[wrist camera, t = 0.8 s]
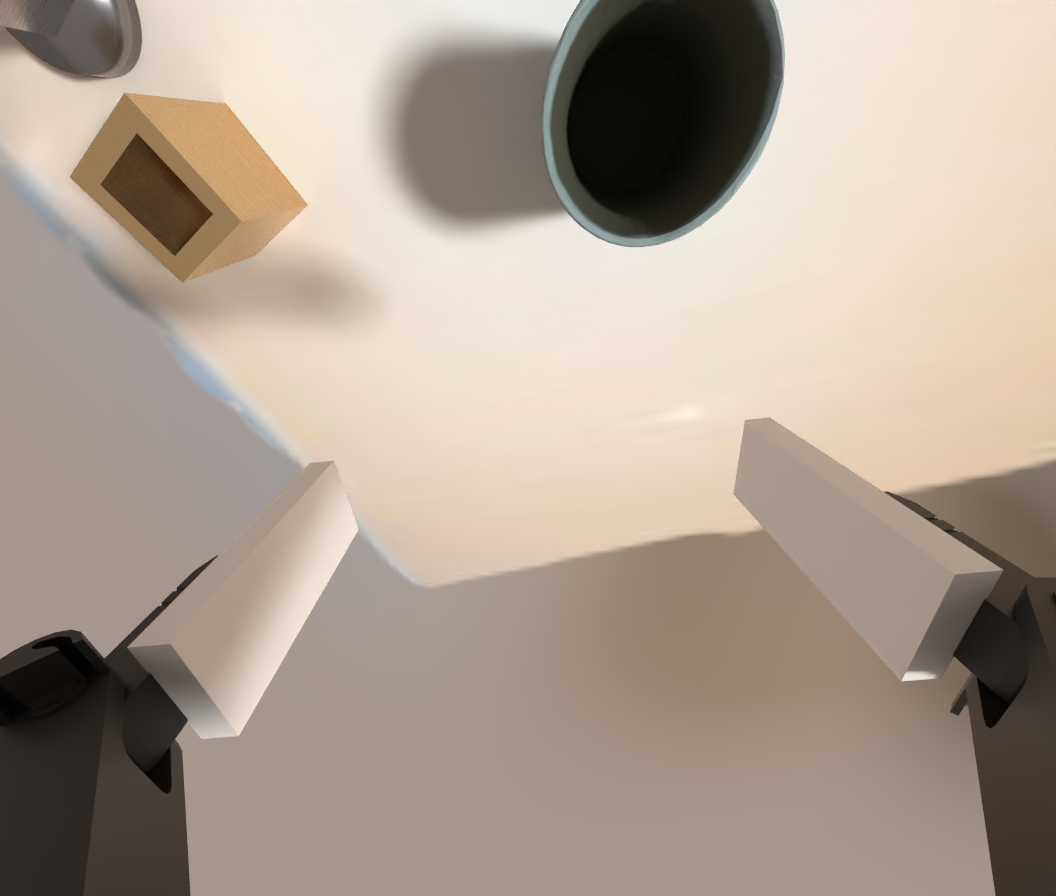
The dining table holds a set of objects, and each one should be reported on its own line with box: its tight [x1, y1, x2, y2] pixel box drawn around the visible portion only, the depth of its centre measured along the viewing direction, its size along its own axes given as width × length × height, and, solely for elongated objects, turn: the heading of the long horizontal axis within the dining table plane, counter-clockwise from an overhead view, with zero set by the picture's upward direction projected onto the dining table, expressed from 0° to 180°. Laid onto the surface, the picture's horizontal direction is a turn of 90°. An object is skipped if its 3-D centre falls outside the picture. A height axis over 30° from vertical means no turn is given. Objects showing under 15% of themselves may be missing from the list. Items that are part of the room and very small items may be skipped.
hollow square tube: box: [70, 93, 307, 282], centre depth 27 cm, size 7×7×8 cm
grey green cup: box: [542, 0, 785, 247], centre depth 22 cm, size 10×10×12 cm
